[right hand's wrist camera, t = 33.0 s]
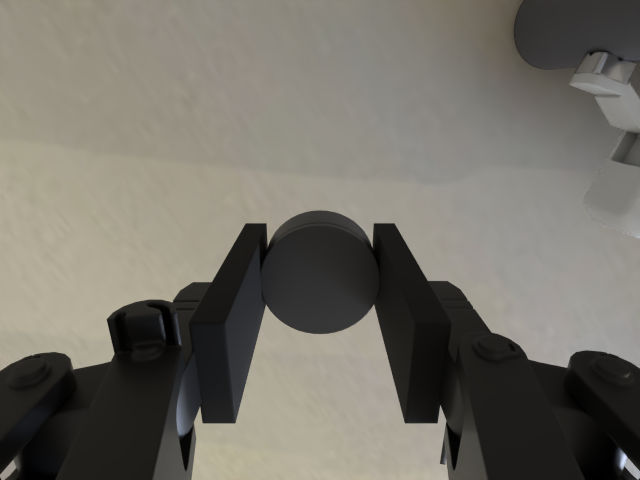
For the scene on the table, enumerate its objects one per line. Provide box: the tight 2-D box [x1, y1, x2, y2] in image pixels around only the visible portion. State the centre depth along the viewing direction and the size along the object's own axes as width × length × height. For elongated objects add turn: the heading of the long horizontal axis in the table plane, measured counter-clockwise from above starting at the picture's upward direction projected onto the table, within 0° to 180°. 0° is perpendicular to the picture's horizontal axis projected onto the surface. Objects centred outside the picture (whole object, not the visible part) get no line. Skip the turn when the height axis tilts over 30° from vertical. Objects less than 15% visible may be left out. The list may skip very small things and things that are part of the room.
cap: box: [260, 211, 380, 334], centre depth 13 cm, size 4×4×2 cm
